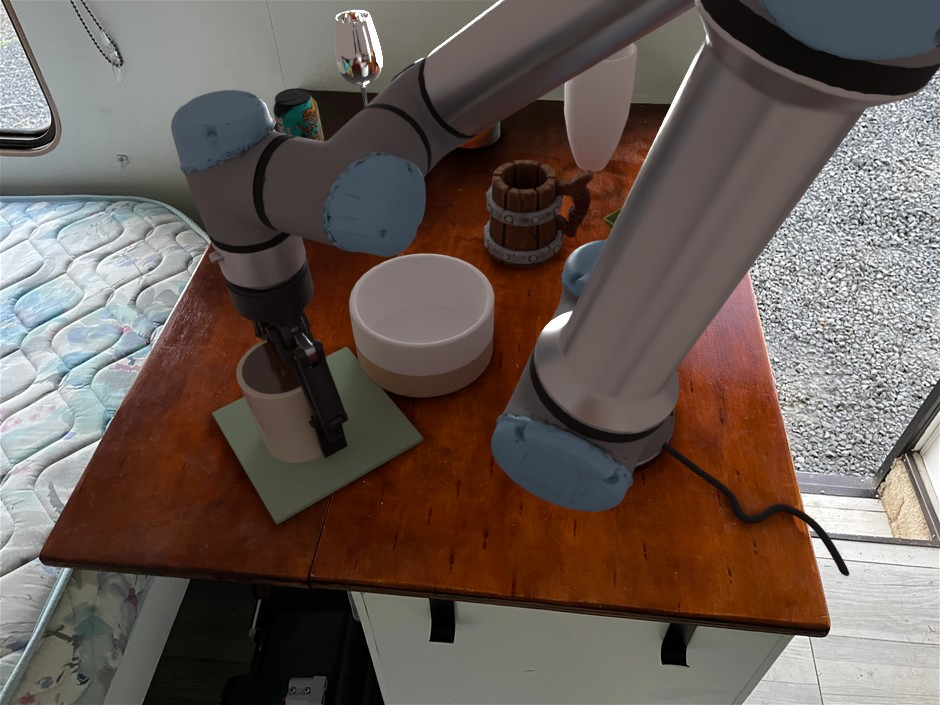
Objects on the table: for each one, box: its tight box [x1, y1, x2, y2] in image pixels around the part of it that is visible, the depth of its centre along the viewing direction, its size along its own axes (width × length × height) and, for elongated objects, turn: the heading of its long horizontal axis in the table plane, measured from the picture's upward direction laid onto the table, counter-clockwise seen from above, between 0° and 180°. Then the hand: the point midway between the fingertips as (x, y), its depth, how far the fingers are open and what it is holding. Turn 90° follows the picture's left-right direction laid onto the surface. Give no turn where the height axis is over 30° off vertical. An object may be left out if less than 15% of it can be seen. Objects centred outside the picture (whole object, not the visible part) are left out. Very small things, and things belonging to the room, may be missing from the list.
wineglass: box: [334, 9, 383, 108], centre depth 122 cm, size 8×8×20 cm
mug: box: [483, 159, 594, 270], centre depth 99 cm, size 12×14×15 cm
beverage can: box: [272, 87, 325, 141], centre depth 117 cm, size 7×7×12 cm
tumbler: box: [235, 340, 323, 463], centre depth 77 cm, size 11×9×9 cm
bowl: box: [348, 253, 495, 398], centre depth 87 cm, size 17×17×8 cm
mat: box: [211, 346, 424, 526], centre depth 81 cm, size 18×18×1 cm
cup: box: [563, 42, 638, 173], centre depth 107 cm, size 10×10×22 cm
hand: (313, 418), depth 80 cm, fingers open, 10 cm apart
